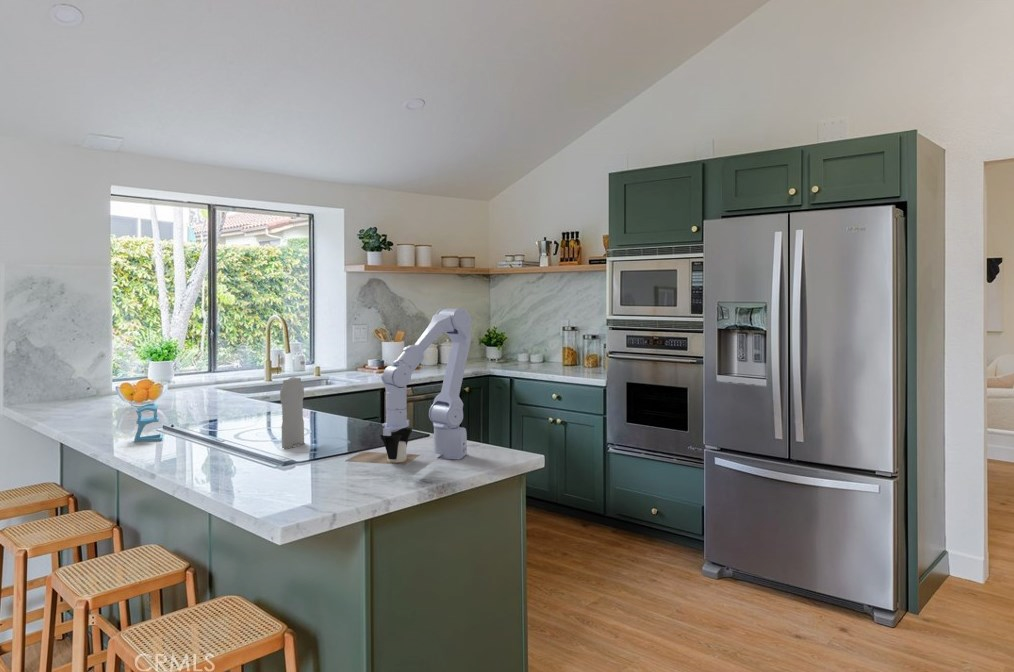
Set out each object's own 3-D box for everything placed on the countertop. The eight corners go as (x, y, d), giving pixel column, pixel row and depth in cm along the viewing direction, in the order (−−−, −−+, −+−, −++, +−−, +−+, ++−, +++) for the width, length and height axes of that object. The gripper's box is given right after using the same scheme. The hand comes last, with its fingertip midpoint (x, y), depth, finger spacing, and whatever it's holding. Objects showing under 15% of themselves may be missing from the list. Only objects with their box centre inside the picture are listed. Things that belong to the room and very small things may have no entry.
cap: (408, 458, 201) (408, 441, 200) (401, 462, 196) (401, 445, 195) (392, 457, 202) (391, 440, 201) (384, 461, 197) (384, 444, 197)
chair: (135, 438, 236) (133, 403, 236) (162, 436, 240) (161, 401, 239) (133, 443, 229) (132, 406, 229) (162, 440, 233) (160, 404, 232)
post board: (420, 459, 206) (420, 441, 205) (405, 469, 194) (404, 449, 194) (362, 456, 210) (362, 438, 209) (344, 466, 198) (344, 446, 198)
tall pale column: (287, 449, 219) (285, 379, 218) (276, 448, 221) (275, 378, 219) (309, 443, 229) (308, 375, 228) (299, 442, 230) (298, 375, 229)
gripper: (392, 404, 206) (393, 450, 207) (372, 412, 192) (373, 461, 193) (415, 404, 204) (416, 451, 205) (396, 413, 190) (397, 462, 191)
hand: (396, 456), depth 199 cm, fingers open, 6 cm apart
